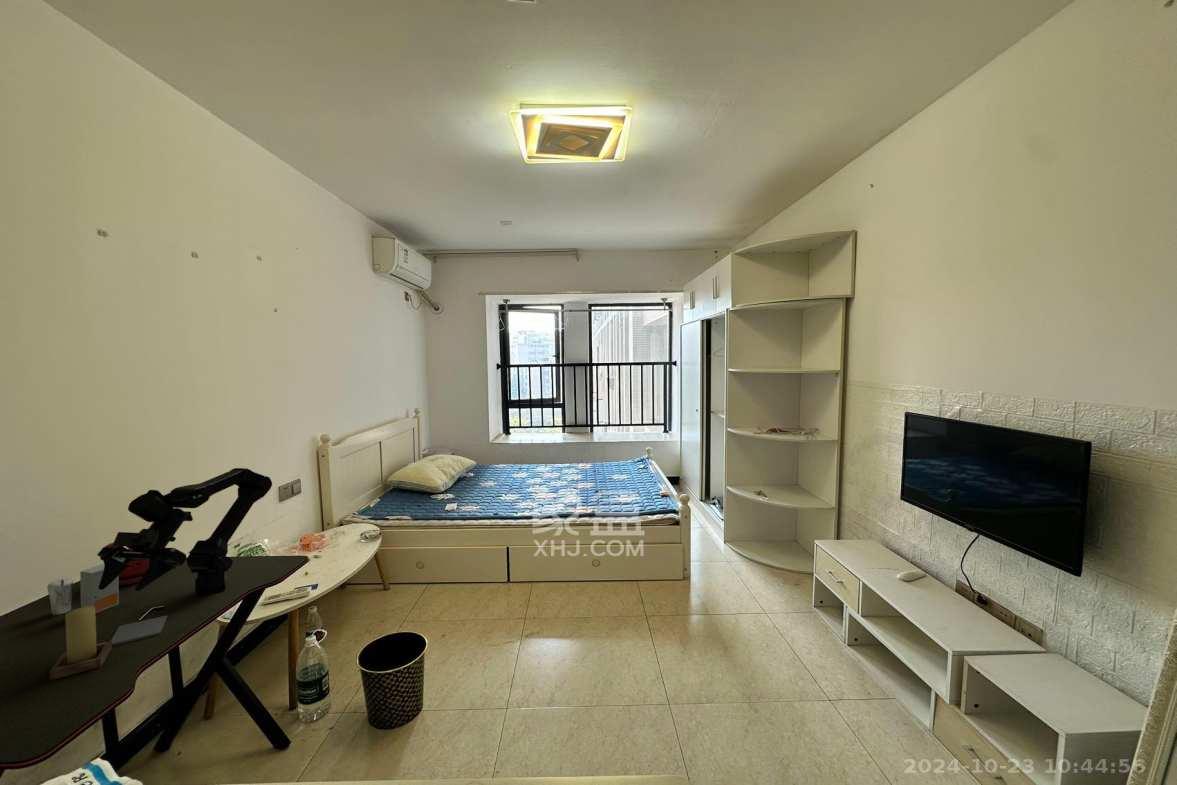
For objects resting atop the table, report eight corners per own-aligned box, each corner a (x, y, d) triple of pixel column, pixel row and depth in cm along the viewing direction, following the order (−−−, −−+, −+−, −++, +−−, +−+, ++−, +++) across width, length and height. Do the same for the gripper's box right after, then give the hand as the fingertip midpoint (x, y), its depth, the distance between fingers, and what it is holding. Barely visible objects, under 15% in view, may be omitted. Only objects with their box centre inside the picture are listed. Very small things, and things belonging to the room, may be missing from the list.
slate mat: (167, 617, 117) (167, 615, 117) (159, 634, 110) (159, 632, 110) (119, 628, 112) (119, 626, 112) (108, 646, 104) (108, 644, 104)
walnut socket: (111, 648, 104) (111, 640, 104) (101, 666, 98) (100, 658, 98) (64, 660, 99) (63, 652, 99) (49, 680, 93) (49, 671, 93)
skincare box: (92, 615, 117) (90, 573, 116) (80, 613, 118) (79, 571, 117) (120, 604, 123) (119, 563, 122) (109, 602, 123) (107, 561, 123)
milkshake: (50, 619, 114) (49, 583, 114) (47, 613, 117) (45, 577, 117) (76, 611, 118) (75, 576, 118) (72, 605, 121) (71, 571, 121)
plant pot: (133, 589, 131) (132, 551, 130) (91, 587, 131) (89, 549, 130) (175, 569, 144) (174, 534, 143) (136, 568, 144) (135, 533, 143)
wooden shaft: (99, 654, 102) (98, 604, 101) (93, 665, 98) (91, 613, 97) (71, 661, 99) (69, 609, 98) (63, 673, 95) (61, 619, 95)
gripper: (104, 515, 110) (51, 577, 100) (174, 517, 110) (129, 580, 99) (138, 533, 118) (92, 592, 108) (203, 535, 118) (164, 595, 108)
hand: (118, 590), depth 106 cm, fingers open, 9 cm apart
